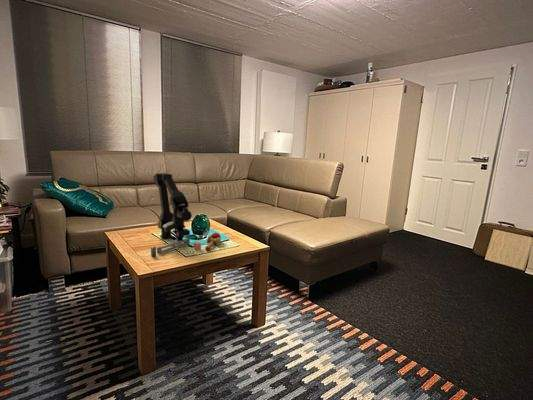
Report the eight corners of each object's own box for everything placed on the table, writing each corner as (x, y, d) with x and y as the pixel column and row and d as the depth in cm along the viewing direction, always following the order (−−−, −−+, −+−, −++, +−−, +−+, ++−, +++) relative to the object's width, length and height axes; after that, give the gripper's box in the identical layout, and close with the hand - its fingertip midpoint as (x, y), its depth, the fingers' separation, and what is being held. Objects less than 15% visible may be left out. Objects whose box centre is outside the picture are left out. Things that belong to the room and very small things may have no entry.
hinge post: (150, 255, 149) (150, 247, 148) (155, 254, 150) (155, 246, 149) (151, 257, 147) (151, 248, 146) (156, 256, 148) (156, 248, 147)
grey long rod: (157, 253, 151) (156, 247, 150) (187, 243, 167) (187, 238, 166) (158, 254, 150) (158, 248, 149) (189, 243, 166) (189, 238, 165)
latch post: (193, 249, 159) (193, 242, 159) (199, 248, 161) (198, 241, 160) (195, 251, 157) (195, 244, 156) (201, 250, 159) (200, 243, 158)
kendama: (216, 254, 157) (224, 239, 174) (213, 244, 155) (222, 229, 172) (202, 255, 158) (212, 240, 175) (200, 245, 156) (209, 231, 173)
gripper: (159, 214, 164) (160, 240, 167) (169, 223, 149) (170, 251, 152) (178, 212, 170) (179, 237, 174) (189, 220, 155) (190, 247, 159)
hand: (179, 243), depth 164 cm, fingers closed
